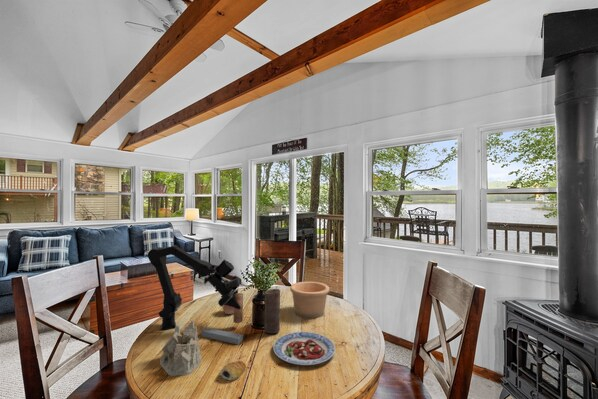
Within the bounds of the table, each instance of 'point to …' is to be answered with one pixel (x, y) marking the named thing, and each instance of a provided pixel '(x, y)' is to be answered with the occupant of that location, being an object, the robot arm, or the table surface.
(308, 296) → the pottery
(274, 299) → the candle
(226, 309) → the apple
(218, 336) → the ridge
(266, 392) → the table surface
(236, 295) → the rod
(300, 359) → the ceramic plate
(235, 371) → the pastry
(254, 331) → the table surface
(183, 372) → the grey castle model
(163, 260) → the robot arm
